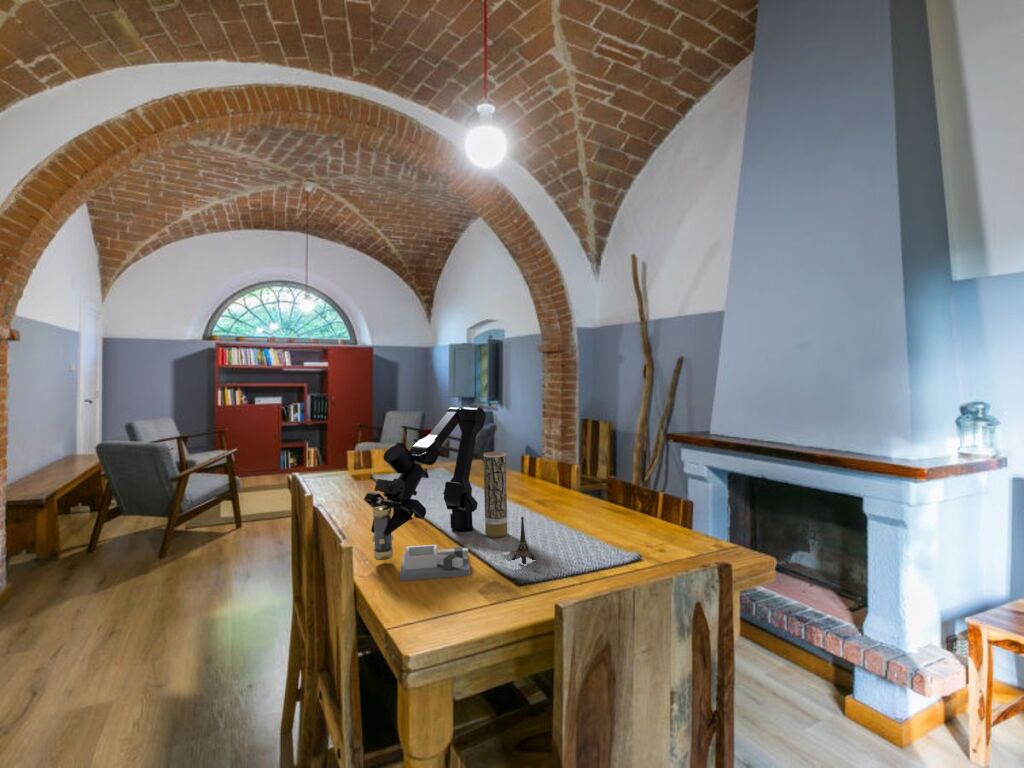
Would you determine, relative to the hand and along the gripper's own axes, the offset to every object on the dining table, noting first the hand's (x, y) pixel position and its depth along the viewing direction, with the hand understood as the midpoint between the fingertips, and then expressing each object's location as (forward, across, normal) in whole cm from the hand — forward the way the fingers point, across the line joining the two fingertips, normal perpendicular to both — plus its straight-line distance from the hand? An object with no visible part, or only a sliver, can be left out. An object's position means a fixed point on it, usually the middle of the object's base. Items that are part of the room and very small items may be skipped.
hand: (378, 533), depth 133 cm
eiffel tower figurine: (-8, +31, +22) cm, 38 cm away
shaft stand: (+2, +14, +10) cm, 17 cm away
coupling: (+4, 0, +6) cm, 7 cm away
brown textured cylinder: (-19, +13, +31) cm, 39 cm away
